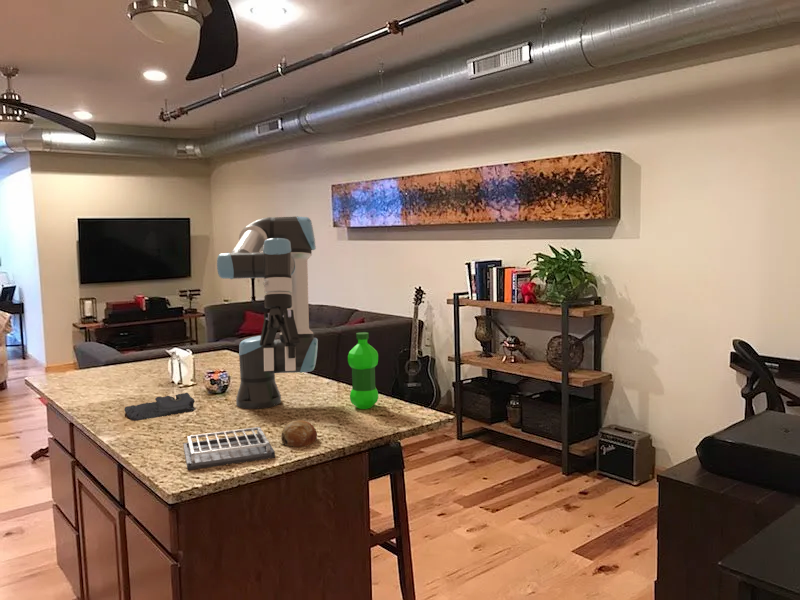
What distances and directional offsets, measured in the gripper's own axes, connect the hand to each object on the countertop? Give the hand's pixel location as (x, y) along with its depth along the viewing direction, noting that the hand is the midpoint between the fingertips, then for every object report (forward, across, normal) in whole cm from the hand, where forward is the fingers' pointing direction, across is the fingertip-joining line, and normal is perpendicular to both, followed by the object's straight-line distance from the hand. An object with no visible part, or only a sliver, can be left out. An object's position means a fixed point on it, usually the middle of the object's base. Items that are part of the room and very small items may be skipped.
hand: (279, 371), depth 184 cm
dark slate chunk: (+13, -62, -14) cm, 65 cm away
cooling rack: (+22, -7, -12) cm, 26 cm away
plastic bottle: (+14, -22, +41) cm, 49 cm away
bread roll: (+20, -4, +8) cm, 22 cm away
